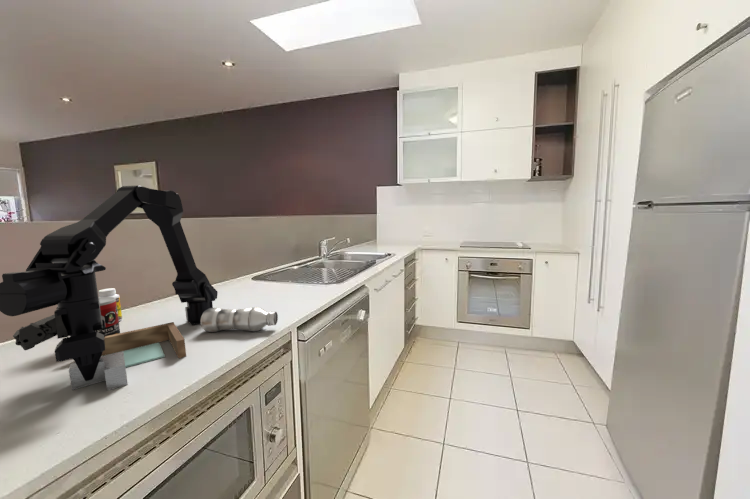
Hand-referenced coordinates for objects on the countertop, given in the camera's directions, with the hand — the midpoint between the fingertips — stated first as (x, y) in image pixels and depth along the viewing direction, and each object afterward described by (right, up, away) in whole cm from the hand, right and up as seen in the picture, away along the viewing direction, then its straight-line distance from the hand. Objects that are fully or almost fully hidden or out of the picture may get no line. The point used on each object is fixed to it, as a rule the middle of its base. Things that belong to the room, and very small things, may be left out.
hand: (89, 376), depth 61 cm
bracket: (+3, -1, -1) cm, 3 cm away
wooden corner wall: (+1, 0, +10) cm, 10 cm away
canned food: (-15, +1, +20) cm, 25 cm away
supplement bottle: (-25, +2, +35) cm, 44 cm away
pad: (+1, 0, +10) cm, 10 cm away
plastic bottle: (+8, +5, +26) cm, 27 cm away
